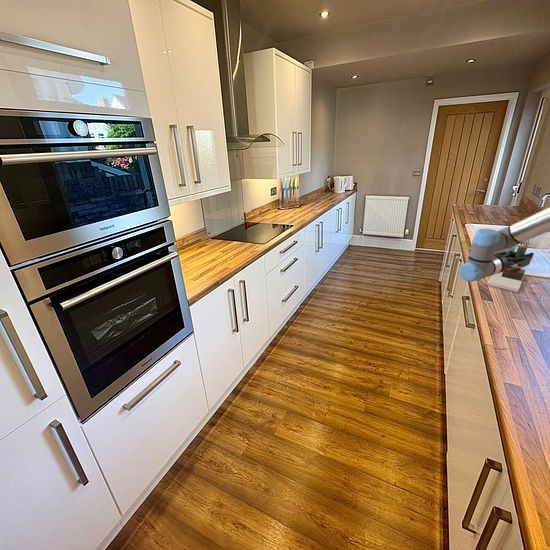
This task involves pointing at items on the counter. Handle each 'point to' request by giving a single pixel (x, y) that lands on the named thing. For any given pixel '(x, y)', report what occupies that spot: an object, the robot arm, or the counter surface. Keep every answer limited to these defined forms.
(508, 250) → the cup
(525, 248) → the brush
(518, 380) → the counter surface
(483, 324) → the counter surface
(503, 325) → the counter surface
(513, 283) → the tile
